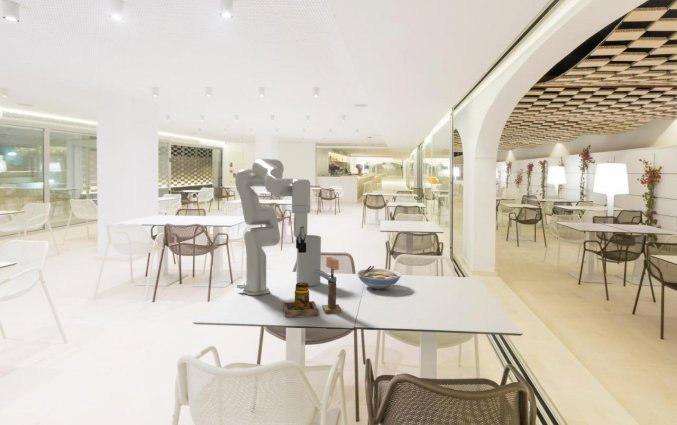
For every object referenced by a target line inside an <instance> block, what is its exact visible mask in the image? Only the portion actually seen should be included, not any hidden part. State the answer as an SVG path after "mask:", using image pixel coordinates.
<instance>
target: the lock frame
mask: <svg viewBox="0 0 677 425" xmlns="http://www.w3.org/2000/svg"><path fill="white" fill-rule="evenodd" d="M315 302H316V301H314V300H313V301H311V300H309V310H291V309H292V308H293V307H295V301H286V302H282V303H283V304H282V310H283V314H285V315H284V318H285V317H286V318H291V317H290V316H307V317H318V315H319V312H318V311H319V310H318V307H317V305H316V303H315ZM321 309H322V311H323V312H324V314H325V313H326V314H341V313H342V308H341V307H340V304H337V281H336V282H334V283H330V282H328V281H327V304H322V305H321Z"/></svg>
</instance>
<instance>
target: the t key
mask: <svg viewBox="0 0 677 425" xmlns="http://www.w3.org/2000/svg"><path fill="white" fill-rule="evenodd" d="M325 258H326V267H327V268H329V269H330V273H327V272H324V271H323V270H319V269H316V270H314V273H316V274H318V275H320V278H323V279H325V280H327V283H328V282H330V283H334V282H336V283H337V276H335V275H334V273H335V272H334V271H339V265H340V264H339V262H340V261H339V259H337V258H335V257H332V256H327V257H325Z"/></svg>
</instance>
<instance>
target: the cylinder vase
mask: <svg viewBox="0 0 677 425" xmlns="http://www.w3.org/2000/svg"><path fill="white" fill-rule="evenodd" d="M321 248H322V236H321V235H317V234H316V235H315V234H307V237H306V253H299V252H298V249H296V284H297V283H300V282H304V283H308V287H316V286H319V285H320V284H321V276H320V275H318V274H316V273H314V270H316V269H319V270H321V267H322V266H321V263H322V262H321V261H322V260H321V259H322V256H321V255H322V252H321V251H322V250H321ZM321 271H322V270H321Z"/></svg>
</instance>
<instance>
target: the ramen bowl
mask: <svg viewBox="0 0 677 425" xmlns="http://www.w3.org/2000/svg"><path fill="white" fill-rule="evenodd" d="M356 272H357V273H356V274H357V277H358V279H359V280H360V281H361V282H362V283H363V284H364V285H366V286H367V287H371V288H372V289H375V290H385V289H387V288H389V287H392V286H394V285H395V284H397V282H398V281H399V280H400V278H401V276H402V274H401V272H399V271H397V270H393V269H386V268H375V265H373V266H371V265H369V266H368V267H367V268H365V269H360V270H359V271H356Z"/></svg>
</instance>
